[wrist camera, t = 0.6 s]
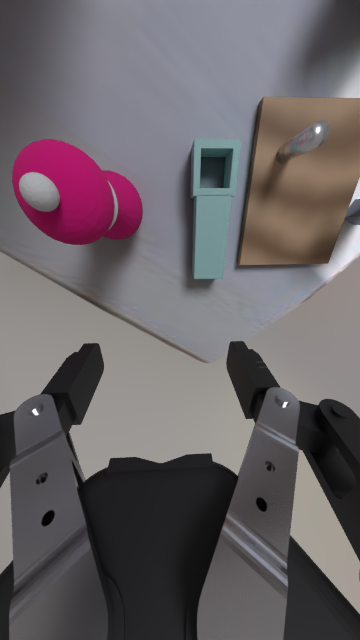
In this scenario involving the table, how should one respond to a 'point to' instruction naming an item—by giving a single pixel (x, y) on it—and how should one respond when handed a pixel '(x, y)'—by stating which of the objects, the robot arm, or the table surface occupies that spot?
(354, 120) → the board
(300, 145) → the capsule
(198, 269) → the teal bar with hole
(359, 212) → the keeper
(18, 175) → the pepper mill
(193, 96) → the table surface
